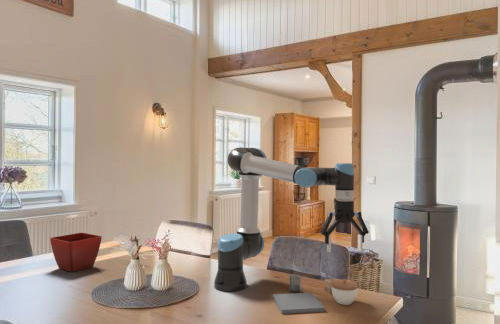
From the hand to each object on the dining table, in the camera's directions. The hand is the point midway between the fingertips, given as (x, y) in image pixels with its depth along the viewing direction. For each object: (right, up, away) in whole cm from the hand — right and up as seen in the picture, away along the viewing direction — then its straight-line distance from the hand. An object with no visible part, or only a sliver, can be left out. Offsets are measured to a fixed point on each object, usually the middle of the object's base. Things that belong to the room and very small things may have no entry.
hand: (344, 251), depth 160 cm
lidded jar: (0, -21, 0) cm, 21 cm away
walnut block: (-2, -21, +12) cm, 24 cm away
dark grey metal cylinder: (-19, -21, +12) cm, 31 cm away
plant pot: (-133, -20, +48) cm, 143 cm away
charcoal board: (-20, -21, -3) cm, 29 cm away
